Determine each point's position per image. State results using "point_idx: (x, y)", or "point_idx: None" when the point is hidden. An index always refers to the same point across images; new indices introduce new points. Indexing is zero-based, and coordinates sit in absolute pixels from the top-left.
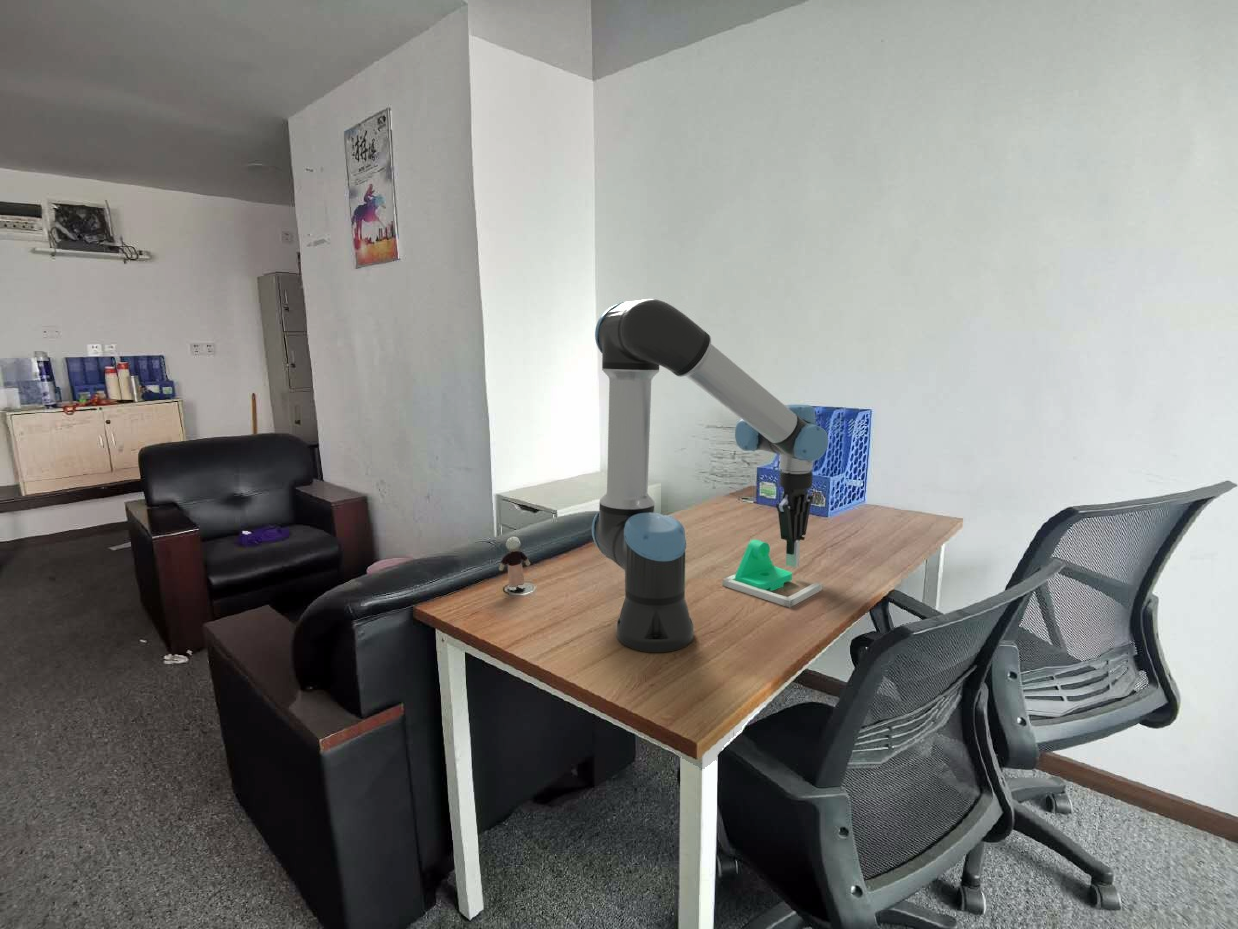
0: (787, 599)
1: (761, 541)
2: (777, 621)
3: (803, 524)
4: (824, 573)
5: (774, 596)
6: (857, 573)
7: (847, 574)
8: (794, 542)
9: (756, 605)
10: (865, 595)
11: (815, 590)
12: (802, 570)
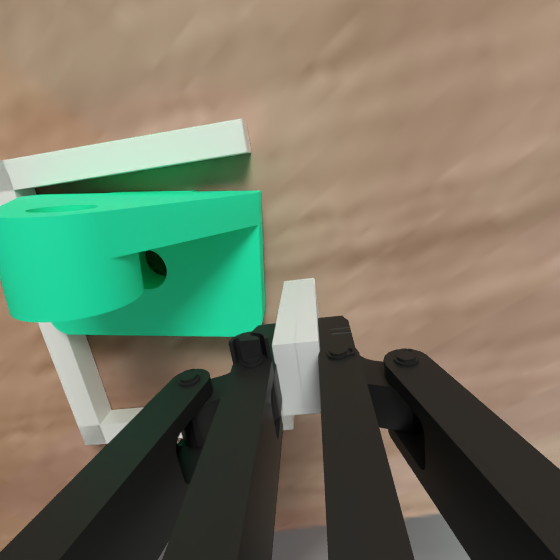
0: (86, 434)
1: (46, 287)
2: (9, 455)
3: (427, 484)
4: (452, 332)
5: (67, 395)
6: (547, 405)
7: (508, 389)
8: (282, 395)
9: (17, 362)
10: None
11: None
12: (416, 255)
